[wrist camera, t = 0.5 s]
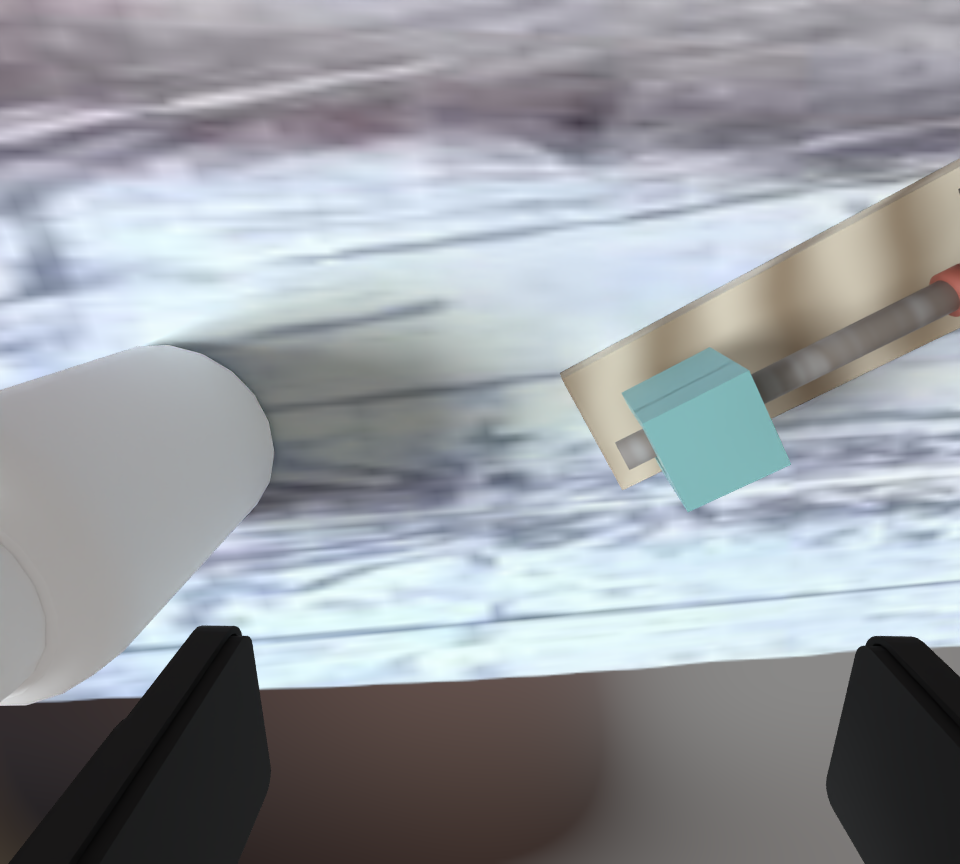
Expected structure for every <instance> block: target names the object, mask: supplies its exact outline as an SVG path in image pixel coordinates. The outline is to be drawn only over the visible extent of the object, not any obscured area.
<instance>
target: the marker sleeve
mask: <svg viewBox="0 0 960 864" xmlns="http://www.w3.org/2000/svg"><path fill="white" fill-rule="evenodd" d="M622 395H623V397H624V399H625V401H626V403H627V405H628V407H629V409H630V410H631V412H632V413H633V415H634V416H635V418H636V419H637V421H638V422H639V424H640V425H641V427H642V428H643V430H644V432H645V434H646V436H647V438H648V440H649V442H650V444H651V446H652V448H653V449H654V451H655V453H656V455H657V457H655V459H656V461H657V463H658V465H659V467H660V469H661V470H662V472H663V473H664V475H665V477H666V478H667V480H668V481H669V483H670V485H671V486H672V488H673V489H674V491H675V492H676V494H677V496H678V497H679V499H680V500H681V502H682V504H683V505H684V507H685V508H686V510H687V511H688V512H690V511H692V510H694V509H696V508H698V507H700V506H703V505H705V504H707V503H709V502H711V501H713V500H716V499H718V498H720V497H722V496H724V495H726V494H729V493H731V492H733V491H735V490H737V489H739V488H742V487H744V486H746V485H748V484H750V483H752V482H754V481H757V480H759V479H761V478H763V477H765V476H767V475H770V474H772V473H774V472H776V471H778V470H780V469H783V468H785V467H787V466H789V465H791V463H790V461H789V459H788V456H787V454H786V452H785V450H784V447H783V445H782V443H781V441H780V438H779V436H778V434H777V432H776V429H775V427H774V425H773V423H772V420H771V418H770V416H769V414H768V411H767V409H766V407H765V405H764V402H763V400H762V398H761V396H760V394H759V391H758V389H757V387H756V385H755V382H754V380H753V378H752V376H751V373H750V371H749V370H748V369H746V368H744V367H743V366H741V365H739V364H738V363H736V362H734V361H733V360H731V359H729V358H727V357H726V356H724V355H722V354H721V353H719V352H717V351H716V350H714V349H712V348H711V347H709V348H707V349H705V350H703V351H701V352H699V353H697V354H695V355H694V356H692V357H690V358H688V359H686V360H684V361H682V362H680V363H678V364H676V365H674V366H672V367H670V368H668V369H666V370H665V371H663V372H661V373H659V374H657V375H655V376H653V377H651V378H649V379H647V380H645V381H643V382H641V383H639V384H637V385H636V386H634V387H632V388H630V389H628V390H626V391H624V392H622Z"/></svg>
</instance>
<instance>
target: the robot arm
mask: <svg viewBox="0 0 960 864" xmlns="http://www.w3.org/2000/svg"><path fill="white" fill-rule="evenodd" d="M270 774H271V768H270V759H269V753H268V747H267V739H266V732H265V726H264V719H263V712H262V705H261V700H260V692H259V685H258V678H257V671H256V665H255V658H254V651H253V644H252V640H251V638H250V637H249V636H242V633H241V631H240V629H239V628H238V627H236V626H199V627H197V628H196V629H195V630H194V631H193V632H192V633H191V635H190V636H189V637H188V639H187V640H186V641H185V643H184V644H183V645H182V646H181V648H180V649H179V650H178V652H177V653H176V654H175V655H174V657H173V658H172V659H171V661H170V662H169V663H168V664H167V666H166V667H165V668H164V670H163V671H162V672H161V674H160V675H159V676H158V677H157V679H156V680H155V681H154V683H153V684H152V685H151V686H150V688H149V689H148V690H147V692H146V693H145V694H144V695H143V697H142V698H141V699H140V701H139V702H138V703H137V705H136V706H135V707H134V709H133V710H132V711H131V712H130V714H129V715H128V716H127V718H125V719H124V720H122V721H121V722H120V723H119V724H118V725H117V726H116V727H115V728H114V729H113V731H112V732H111V733H110V735H109V736H108V737H107V738H106V740H105V741H104V742H103V743H102V745H101V746H100V747H99V748H98V750H97V751H96V752H95V754H94V755H93V756H92V757H91V759H90V760H89V761H88V763H87V764H86V765H85V766H84V768H83V769H82V770H81V772H80V773H79V774H78V775H77V777H76V778H75V779H74V780H73V782H72V783H71V784H70V786H69V787H68V788H67V790H66V791H65V792H64V794H63V795H62V796H61V797H60V798H59V800H58V801H57V802H56V803H55V805H54V806H53V807H52V809H51V810H50V811H49V812H48V814H47V815H46V816H45V818H44V819H43V820H42V821H41V823H40V824H39V825H38V827H37V828H36V829H35V831H34V832H33V833H32V834H31V835H30V837H29V838H28V839H27V841H26V842H25V843H24V845H23V846H22V847H21V848H20V850H19V851H18V852H17V854H16V855H15V856H14V857H13V859H12V860H11V861H10V862H9V864H237V863H238V861H239V859H240V856H241V854H242V851H243V849H244V847H245V844H246V842H247V839H248V837H249V835H250V832H251V830H252V828H253V825H254V823H255V820H256V818H257V815H258V813H259V811H260V808H261V806H262V804H263V801H264V799H265V796H266V794H267V791H268V787H269V782H270ZM826 789H827V794H828V798H829V801H830V804H831V806H832V808H833V810H834V812H835V813H836V815H837V817H838V818H839V820H840V822H841V824H842V825H843V827H844V829H845V830H846V832H847V834H848V836H849V837H850V839H851V841H852V842H853V844H854V846H855V847H856V849H857V851H858V853H859V854H860V856H861V858H862V860H863V861H864V863H865V864H960V677H959V676H958V675H957V674H956V673H955V672H954V671H953V670H952V669H951V668H950V667H949V666H948V665H947V664H946V663H945V662H943V660H942V659H940V658H939V657H938V656H937V655H936V654H935V653H934V652H933V651H932V650H931V649H930V648H929V647H928V646H927V645H926V644H925V643H924V642H922V641H921V640H919V639H918V638H915V637H905V636H874V637H871V638H870V639H869V640H868V641H867V643H866V645H865V646H861V647H859V648H858V649H857V651H856V654H855V658H854V663H853V667H852V671H851V675H850V680H849V684H848V688H847V693H846V698H845V702H844V706H843V710H842V714H841V719H840V723H839V727H838V731H837V736H836V740H835V744H834V749H833V753H832V757H831V762H830V766H829V770H828V774H827V781H826Z"/></svg>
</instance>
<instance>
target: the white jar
mask: <svg viewBox="0 0 960 864" xmlns="http://www.w3.org/2000/svg"><path fill="white" fill-rule="evenodd" d="M273 459H274V447H273V442H272V436H271V431H270V426H269V421H268V419H267V417H266V415H265V414H264V412H263V410H262V408H261V406H260V404H259V402H258V400H257V398H256V396H255V395H254V394H253V393H252V391H251V390H250V389H249V388H248V387H247V386H246V385H245V384H244V383H243V382H242V381H241V380H240V379H239V378H238V377H237V376H236V375H235V374H234V373H233V372H232V371H231V370H229V369H227V368H226V367H224V366H222V365H220V364H219V363H217V362H215V361H214V360H212V359H210V358H209V357H207V356H205V355H203V354H201V353H198V352H194V351H190V350H186V349H182V348H178V347H175V346H171V345H157V346H138V347H134V348H131V349H128V350H124V351H121V352H118V353H115V354H112V355H109V356H106V357H103V358H99V359H96V360H93V361H90V362H87V363H84V364H81V365H77V366H74V367H71V368H68V369H65V370H62V371H59V372H56V373H52V374H49V375H46V376H43V377H40V378H37V379H34V380H31V381H27V382H24V383H21V384H18V385H15V386H12V387H9V388H5V389H2V390H0V706H1V705H28V704H31V703H35V702H38V701H41V700H44V699H47V698H50V697H54V696H57V695H60V694H63V693H65V692H66V691H68V690H70V689H71V688H73V687H74V686H76V685H78V684H79V683H81V682H83V681H84V680H86V679H88V678H89V677H91V676H92V675H94V674H96V673H97V672H98V671H99V670H101V669H102V668H103V667H104V666H106V665H107V664H108V663H109V662H111V661H112V660H113V659H114V658H116V657H117V656H118V655H119V654H121V653H122V652H123V651H124V650H125V649H126V648H127V647H128V646H129V645H130V643H131V642H132V641H133V640H134V639H135V638H136V637H137V636H138V635H139V634H140V632H141V631H142V630H143V629H144V628H145V627H146V626H147V625H148V624H149V623H150V621H151V620H152V619H153V618H154V617H155V616H156V615H157V614H158V613H159V612H160V610H161V609H162V608H163V607H164V606H165V605H166V604H167V603H168V602H169V601H170V599H171V598H172V597H173V596H174V595H175V594H176V593H177V592H178V591H179V590H180V589H181V587H182V586H183V585H184V584H185V583H186V582H187V581H188V580H189V579H190V578H191V576H192V575H193V574H194V573H195V572H196V571H197V570H198V569H199V568H200V567H201V565H202V564H203V563H204V562H205V561H206V560H207V559H208V558H209V557H210V556H211V554H212V553H213V552H214V551H215V550H216V549H217V548H218V547H219V546H220V545H221V543H222V542H223V541H224V540H225V539H226V538H227V537H228V536H229V535H230V534H231V532H232V531H233V530H234V529H235V528H236V527H237V526H238V525H239V524H240V523H241V521H242V520H243V519H244V518H245V517H246V516H247V515H248V514H249V513H250V512H251V510H252V509H253V508H254V507H255V506H256V505H257V504H258V502H259V500H260V498H261V497H262V495H263V493H264V491H265V489H266V488H267V486H268V484H269V482H270V479H271V472H272V466H273Z"/></svg>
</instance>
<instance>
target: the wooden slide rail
mask: <svg viewBox="0 0 960 864" xmlns="http://www.w3.org/2000/svg"><path fill="white" fill-rule="evenodd" d="M958 328H960V159H958V160H956V161H954V162H952V163H950V164H948V165H947V166H945V167H943V168H941V169H939V170H937V171H935V172H934V173H932V174H930V175H928V176H926V177H924V178H922V179H921V180H919V181H917V182H915V183H913V184H911V185H909V186H908V187H906V188H904V189H902V190H900V191H898V192H896V193H894V194H893V195H891V196H889V197H887V198H885V199H883V200H881V201H880V202H878V203H876V204H874V205H872V206H870V207H868V208H867V209H865V210H863V211H861V212H859V213H857V214H855V215H854V216H852V217H850V218H848V219H846V220H844V221H842V222H840V223H839V224H837V225H835V226H833V227H831V228H829V229H827V230H826V231H824V232H822V233H820V234H818V235H816V236H814V237H813V238H811V239H809V240H807V241H805V242H803V243H801V244H799V245H798V246H796V247H794V248H792V249H790V250H788V251H786V252H785V253H783V254H781V255H779V256H777V257H775V258H773V259H772V260H770V261H768V262H766V263H764V264H762V265H760V266H759V267H757V268H755V269H753V270H751V271H749V272H747V273H745V274H744V275H742V276H740V277H738V278H736V279H734V280H732V281H731V282H729V283H727V284H725V285H723V286H721V287H719V288H718V289H716V290H714V291H712V292H710V293H708V294H706V295H705V296H703V297H701V298H699V299H697V300H695V301H693V302H691V303H690V304H688V305H686V306H684V307H682V308H680V309H678V310H677V311H675V312H673V313H671V314H669V315H667V316H665V317H664V318H662V319H660V320H658V321H656V322H654V323H652V324H651V325H649V326H647V327H645V328H643V329H641V330H639V331H637V332H636V333H634V334H632V335H630V336H628V337H626V338H624V339H623V340H621V341H619V342H617V343H615V344H613V345H611V346H610V347H608V348H606V349H604V350H602V351H600V352H598V353H596V354H595V355H593V356H591V357H589V358H587V359H585V360H583V361H582V362H580V363H578V364H576V365H574V366H572V367H570V368H569V369H567V370H565V371H563V372H561V373H560V375H561V378H562V380H563V382H564V384H565V386H566V387H567V389H568V391H569V393H570V395H571V397H572V398H573V400H574V402H575V404H576V406H577V408H578V409H579V411H580V413H581V415H582V417H583V419H584V420H585V422H586V424H587V426H588V428H589V430H590V432H591V433H592V435H593V437H594V439H595V441H596V443H597V444H598V446H599V448H600V450H601V452H602V454H603V455H604V457H605V459H606V461H607V463H608V465H609V466H610V468H611V470H612V472H613V474H614V476H615V477H616V479H617V481H618V483H619V485H620V487H621V488H622V490H624V489H626V488H628V487H630V486H632V485H634V484H636V483H639V482H641V481H643V480H645V479H647V478H649V477H651V476H653V475H655V474H657V473H659V472H661V471H662V470H661V469H660V467H659V465H658V463H657V461H656V459H655V457H657V455H656V453H655V451H654V449H653V448H652V446H651V444H650V442H649V440H648V438H647V436H646V434H645V432H644V430H643V428H642V427H641V425H640V424H639V422H638V421H637V419H636V418H635V416H634V415H633V413H632V412H631V410H630V409H629V407H628V405H627V403H626V401H625V399H624V397H623V395H622V392H624V391H626V390H628V389H630V388H632V387H634V386H636V385H637V384H639V383H641V382H643V381H645V380H647V379H649V378H651V377H653V376H655V375H657V374H659V373H661V372H663V371H665V370H666V369H668V368H670V367H672V366H674V365H676V364H678V363H680V362H682V361H684V360H686V359H688V358H690V357H692V356H694V355H695V354H697V353H699V352H701V351H703V350H705V349H707V348H709V347H711V348H712V349H714V350H716V351H717V352H719V353H721V354H722V355H724V356H726V357H727V358H729V359H731V360H733V361H734V362H736V363H738V364H739V365H741V366H743V367H744V368H746V369H748V370H749V371H750V373H751V376H752V378H753V380H754V382H755V385H756V387H757V389H758V391H759V394H760V396H761V398H762V400H763V402H764V405H765V407H766V409H767V411H768V414H769V416H770V418H774V417H776V416H778V415H780V414H782V413H784V412H786V411H788V410H790V409H792V408H794V407H796V406H798V405H801V404H803V403H805V402H807V401H809V400H811V399H813V398H815V397H817V396H819V395H821V394H823V393H825V392H828V391H830V390H832V389H834V388H836V387H838V386H840V385H842V384H844V383H846V382H848V381H850V380H852V379H855V378H857V377H859V376H861V375H863V374H865V373H867V372H869V371H871V370H873V369H875V368H877V367H879V366H882V365H884V364H886V363H888V362H890V361H892V360H894V359H896V358H898V357H900V356H902V355H904V354H906V353H909V352H911V351H913V350H915V349H917V348H919V347H921V346H923V345H925V344H927V343H929V342H931V341H933V340H936V339H938V338H940V337H942V336H944V335H946V334H948V333H950V332H952V331H954V330H956V329H958Z"/></svg>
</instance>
